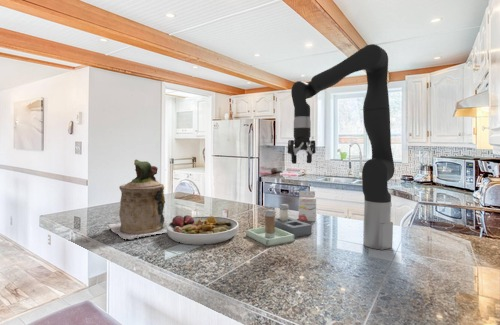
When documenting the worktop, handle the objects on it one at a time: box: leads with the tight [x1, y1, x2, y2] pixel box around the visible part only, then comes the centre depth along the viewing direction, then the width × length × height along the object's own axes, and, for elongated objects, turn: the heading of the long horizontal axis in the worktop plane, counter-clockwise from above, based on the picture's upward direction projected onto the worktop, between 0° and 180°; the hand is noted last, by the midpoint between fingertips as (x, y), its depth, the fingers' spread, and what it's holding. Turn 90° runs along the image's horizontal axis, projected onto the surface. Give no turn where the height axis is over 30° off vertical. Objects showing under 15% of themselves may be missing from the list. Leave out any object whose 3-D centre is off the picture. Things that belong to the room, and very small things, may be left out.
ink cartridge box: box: [298, 190, 317, 222], centre depth 152 cm, size 9×5×15 cm, turn 84°
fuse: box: [279, 203, 290, 222], centre depth 136 cm, size 4×4×11 cm
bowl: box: [166, 214, 239, 246], centre depth 126 cm, size 30×30×8 cm
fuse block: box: [275, 216, 313, 238], centre depth 133 cm, size 18×10×4 cm, turn 30°
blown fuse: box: [264, 209, 276, 239], centre depth 122 cm, size 4×4×11 cm
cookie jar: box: [107, 159, 170, 240], centre depth 133 cm, size 25×25×32 cm
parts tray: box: [245, 226, 296, 248], centre depth 122 cm, size 16×13×2 cm
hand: (301, 163), depth 134 cm, fingers open, 8 cm apart
